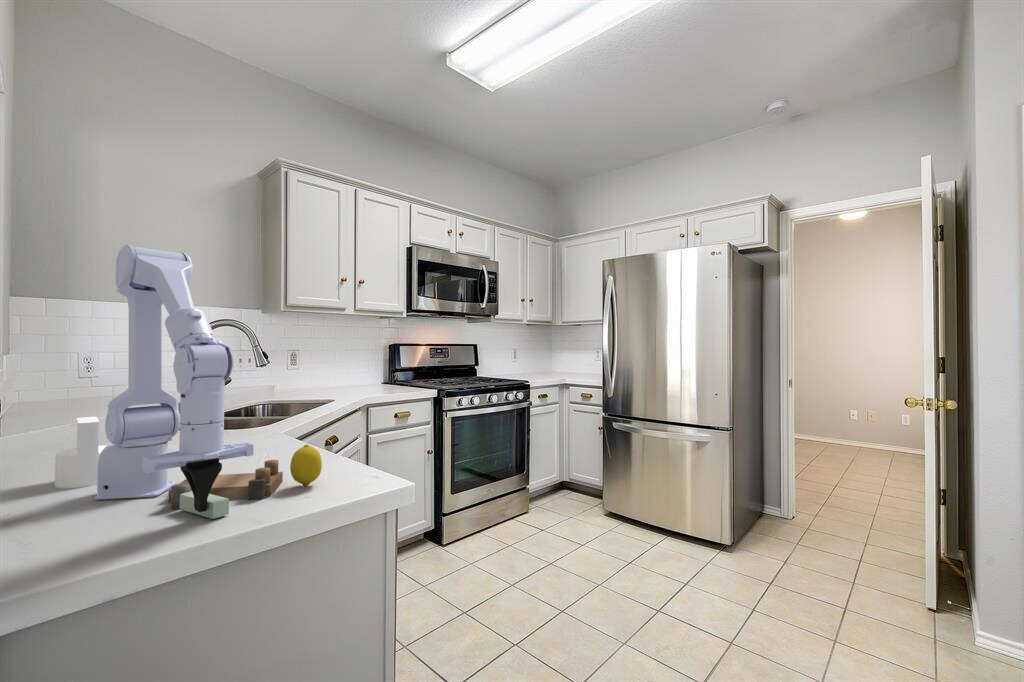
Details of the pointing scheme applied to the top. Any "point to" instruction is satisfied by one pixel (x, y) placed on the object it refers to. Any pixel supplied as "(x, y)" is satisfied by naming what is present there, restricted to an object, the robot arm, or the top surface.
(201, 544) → the top surface
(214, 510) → the pale green bar
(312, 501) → the top surface
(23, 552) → the top surface
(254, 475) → the stool seat
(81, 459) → the base with upright slab
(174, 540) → the top surface
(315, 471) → the lemon
